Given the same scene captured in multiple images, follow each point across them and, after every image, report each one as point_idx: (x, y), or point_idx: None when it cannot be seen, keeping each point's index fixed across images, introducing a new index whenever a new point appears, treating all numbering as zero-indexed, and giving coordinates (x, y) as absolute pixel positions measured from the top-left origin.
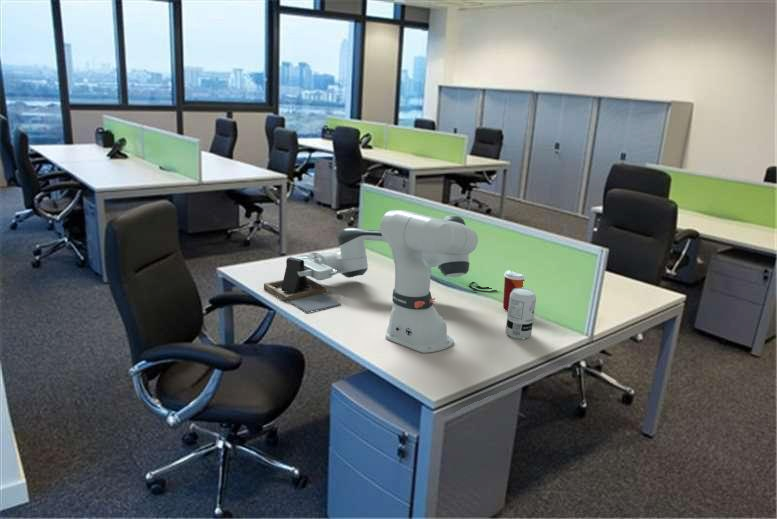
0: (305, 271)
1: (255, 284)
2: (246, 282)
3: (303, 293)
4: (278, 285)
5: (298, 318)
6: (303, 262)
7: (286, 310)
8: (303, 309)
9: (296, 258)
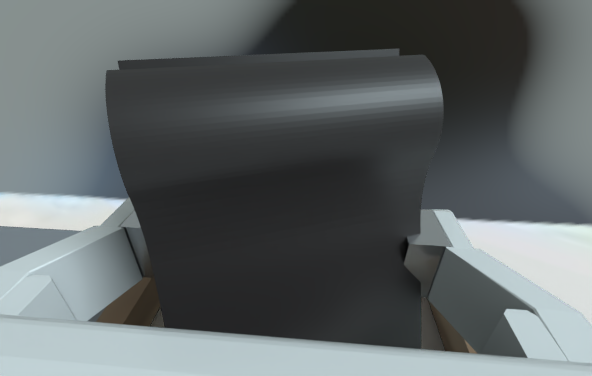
0: (71, 239)
1: (521, 252)
2: (565, 236)
3: (105, 311)
4: (441, 322)
5: (23, 194)
6: (129, 157)
7: (116, 200)
8: (22, 227)
9: (274, 62)
